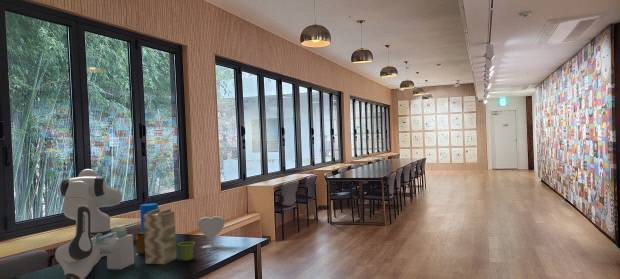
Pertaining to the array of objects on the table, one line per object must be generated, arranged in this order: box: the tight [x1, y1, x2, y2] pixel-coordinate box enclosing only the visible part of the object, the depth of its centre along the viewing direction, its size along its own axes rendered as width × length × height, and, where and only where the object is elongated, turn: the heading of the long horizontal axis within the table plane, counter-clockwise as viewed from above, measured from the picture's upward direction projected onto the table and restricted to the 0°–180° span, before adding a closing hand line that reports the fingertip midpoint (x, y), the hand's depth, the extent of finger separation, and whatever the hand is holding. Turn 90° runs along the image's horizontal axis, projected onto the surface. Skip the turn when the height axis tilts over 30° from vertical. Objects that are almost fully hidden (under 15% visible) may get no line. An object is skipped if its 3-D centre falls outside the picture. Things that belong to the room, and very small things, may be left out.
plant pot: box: [176, 241, 196, 261], centre depth 248 cm, size 9×9×9 cm
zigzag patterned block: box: [143, 208, 177, 265], centre depth 247 cm, size 12×11×28 cm
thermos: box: [139, 202, 159, 232], centre depth 293 cm, size 11×11×25 cm
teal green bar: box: [96, 224, 128, 242], centre depth 234 cm, size 4×21×6 cm, turn 170°
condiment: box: [134, 231, 145, 256], centre depth 267 cm, size 7×8×12 cm
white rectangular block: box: [106, 234, 135, 270], centre depth 240 cm, size 8×11×16 cm
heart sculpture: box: [197, 215, 225, 249], centre depth 276 cm, size 16×5×18 cm, turn 97°
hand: (108, 233), depth 232 cm, fingers open, 8 cm apart
